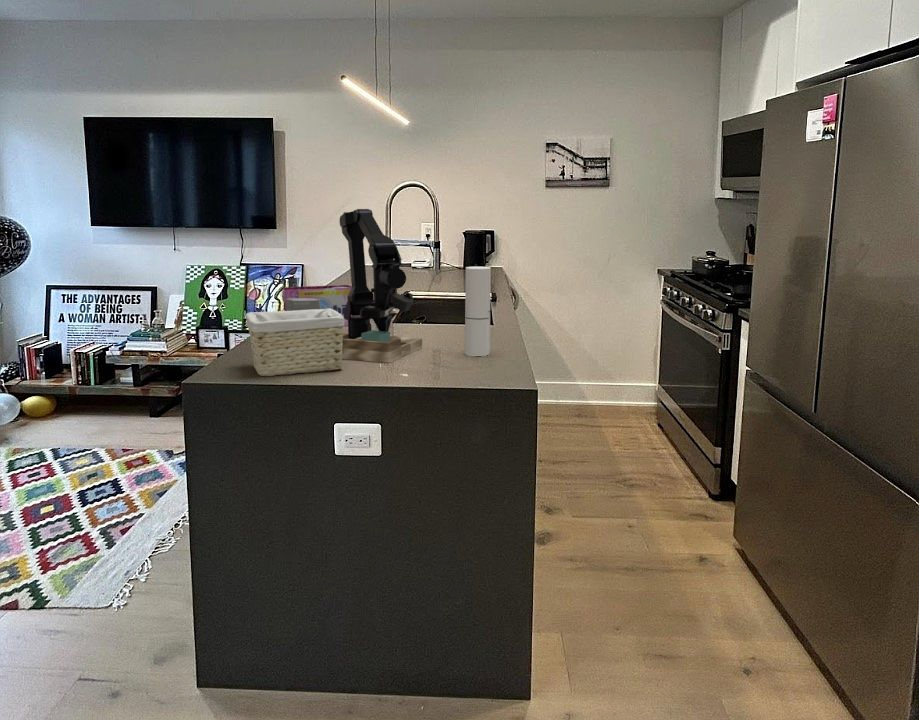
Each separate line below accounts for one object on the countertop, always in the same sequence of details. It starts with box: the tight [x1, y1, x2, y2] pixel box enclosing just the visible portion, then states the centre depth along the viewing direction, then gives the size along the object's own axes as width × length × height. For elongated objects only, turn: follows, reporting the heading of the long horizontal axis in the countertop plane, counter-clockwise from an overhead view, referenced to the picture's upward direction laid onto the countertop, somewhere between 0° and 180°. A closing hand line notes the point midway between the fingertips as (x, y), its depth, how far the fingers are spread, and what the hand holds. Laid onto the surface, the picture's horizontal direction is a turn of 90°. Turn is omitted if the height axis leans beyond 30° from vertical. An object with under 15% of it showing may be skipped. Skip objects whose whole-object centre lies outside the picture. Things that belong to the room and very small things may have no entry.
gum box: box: [281, 284, 352, 328], centre depth 279 cm, size 24×8×14 cm, turn 110°
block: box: [361, 329, 391, 342], centre depth 236 cm, size 6×6×3 cm
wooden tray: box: [342, 333, 423, 364], centre depth 237 cm, size 18×22×6 cm
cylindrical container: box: [464, 266, 492, 357], centre depth 234 cm, size 7×7×25 cm
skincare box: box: [286, 298, 319, 311], centre depth 236 cm, size 8×7×16 cm
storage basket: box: [245, 308, 344, 377], centre depth 216 cm, size 24×16×15 cm
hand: (384, 337), depth 240 cm, fingers closed
